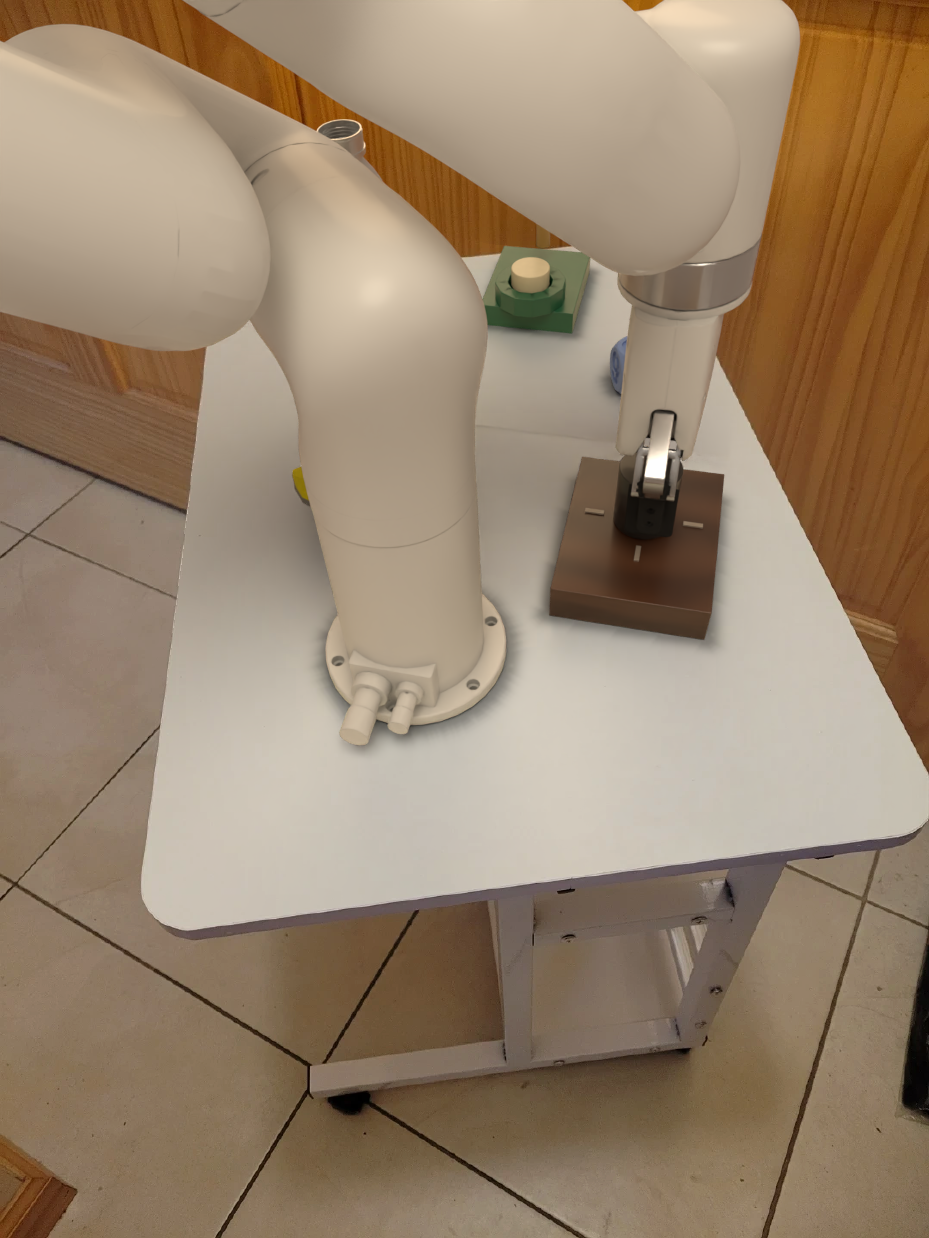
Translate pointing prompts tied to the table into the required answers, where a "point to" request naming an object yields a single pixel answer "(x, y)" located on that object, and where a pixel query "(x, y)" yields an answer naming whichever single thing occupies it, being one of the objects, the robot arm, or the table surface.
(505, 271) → the lamp base
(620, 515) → the dimmer knob
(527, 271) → the lamp switch
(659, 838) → the table surface
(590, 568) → the dimmer panel
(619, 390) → the decorative dice
